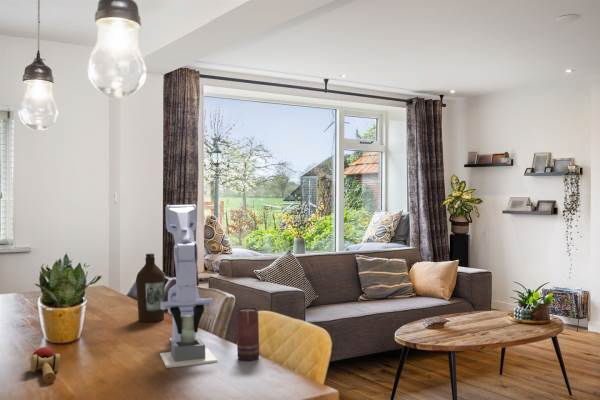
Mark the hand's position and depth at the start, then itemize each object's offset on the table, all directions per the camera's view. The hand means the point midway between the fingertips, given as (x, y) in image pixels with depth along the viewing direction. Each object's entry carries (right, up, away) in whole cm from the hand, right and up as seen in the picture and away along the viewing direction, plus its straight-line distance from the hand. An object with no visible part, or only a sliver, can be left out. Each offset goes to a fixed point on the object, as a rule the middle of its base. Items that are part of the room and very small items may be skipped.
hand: (187, 332), depth 170 cm
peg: (0, -2, 0) cm, 2 cm away
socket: (0, -7, 0) cm, 8 cm away
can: (+18, -7, -1) cm, 19 cm away
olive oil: (-24, -8, +55) cm, 61 cm away
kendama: (-35, -9, -13) cm, 38 cm away
